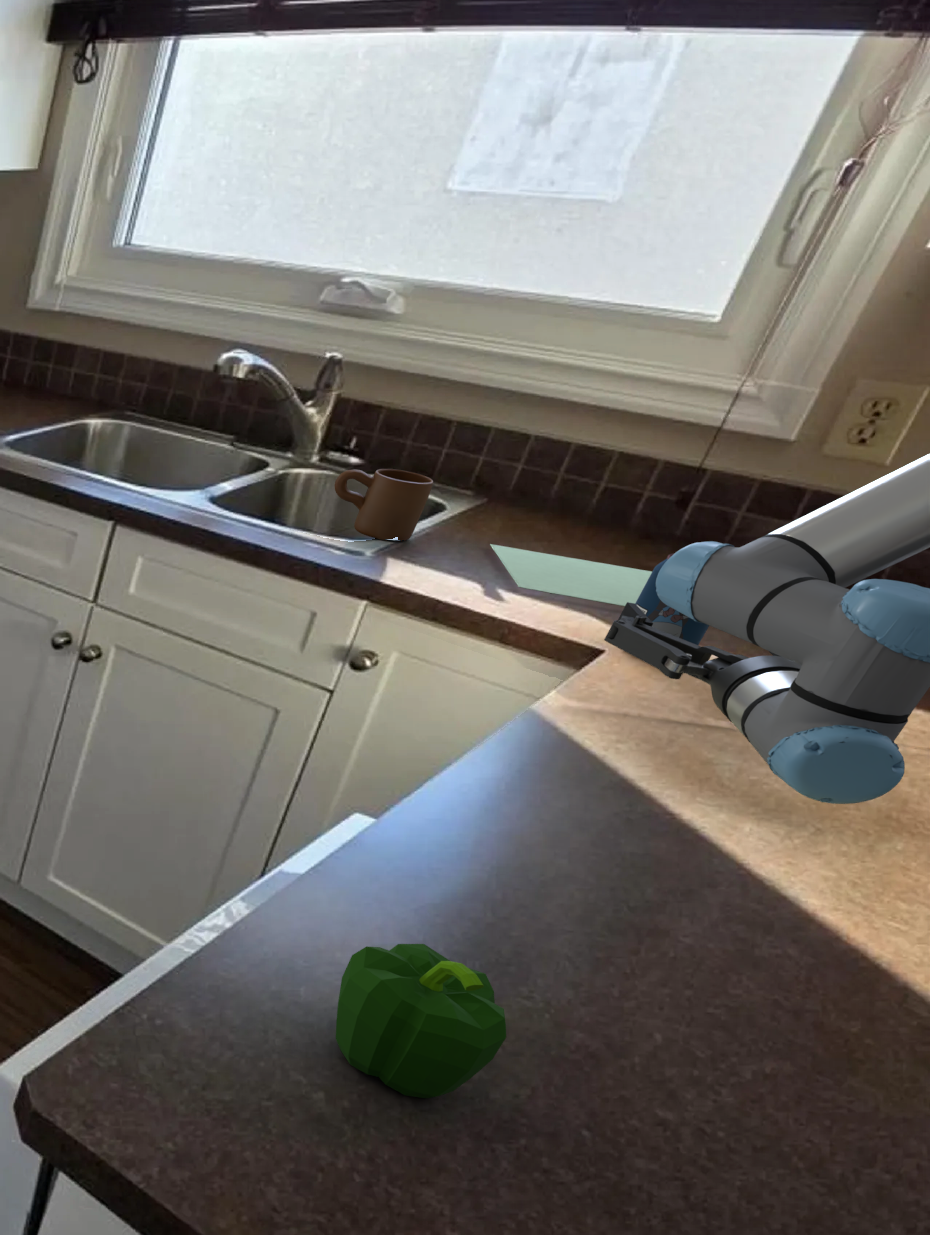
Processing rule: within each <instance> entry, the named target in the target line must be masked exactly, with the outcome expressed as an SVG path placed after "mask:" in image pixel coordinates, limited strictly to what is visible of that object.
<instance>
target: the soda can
mask: <svg viewBox="0 0 930 1235" xmlns="http://www.w3.org/2000/svg"><path fill="white" fill-rule="evenodd" d="M673 554H674V553H669V554H668V555H667V557H666V558H665V559H663V560H662V561H661V562H659V563H658V564H656V565H655V566H654V568H653V570H652V571H651V572H652V573H651V575H650V577H649V579H648V581H647V582H646V584H645V586H644V588H643V590H642V592H641V594H640V596H639V597H638V599H637V601H636V603H635V604H636V605H637V606H638V607H639V608H640V609H641V610H642V611H643V613H644V614H645V615H646V616H647V617H648V618H649V619H650V620H651V621H652V622H653V625H652V627H653V628H656V629H658V630H661V631H663V632H666V633H668V634H671V635H673V636H676V637H678V638H681V639H683V640H686V641H688V642H691V643H693V644H696V645H699V646H700V643H701V641H702V640H703V638H704V637H705V634H706V633H707V631H708V629H709V627H710V626H709V625H707V624H705V623H700V622H696V621H694V620H693V619H691V618H689V617H688V616H686V615H684V614H682V613H680V612H678V611H677V610H675V609H673V608H671V607H669V606H667V605H666V604H664V603H663V602H662V601H661V600H660V598H659V597H658V595H657V592H656V579H657V576H658V573H659V571H660V569H661V568H662V566H663V565H664V564H665V562H666V561H667V560H668V559H669V558H670V557H671V556H672V555H673Z"/></svg>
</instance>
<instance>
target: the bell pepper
mask: <svg viewBox="0 0 930 1235" xmlns="http://www.w3.org/2000/svg"><path fill="white" fill-rule="evenodd" d="M340 982H341V983H340V988H339V993H338V1000H337V1009H336V1010H337V1011H336V1021H335V1024H336V1025H335V1041H336V1044H337V1045H338V1048H339V1050H340V1052H341V1053H342V1054H343V1056H344V1058H345V1059H346V1061H347V1062H348V1064H349V1065H350V1066H352V1067H354V1068H355V1069H357V1070H358V1071H360V1072H362V1073H364V1074H365V1075H368V1076H372V1077H376V1078H379V1079H380V1080H381V1082H382V1083H383V1084H385V1086H387V1087H389V1088H391V1089H392V1090H395V1091H397V1092H398V1093H400V1094H401V1095H404V1096H407V1097H413V1098H421V1099H431V1098H436V1097H437V1098H438V1097H441V1096H443V1095H446V1094H449V1093H452V1092H454V1091H456V1090H457V1089H459V1087H461V1086H463V1085H464V1084H465V1083H467V1082H468V1081H469V1080H470V1079H472V1078H473V1077H474V1076H476V1075H477V1074H478V1073H479V1072H480V1071H481V1070H483V1068H485V1067H486V1066H488V1064H489V1063H490V1062H492V1061H493V1059H494V1058H495V1056H496V1055H497V1053H498V1051H499V1050H500V1048H501V1047H502V1045H503V1043H504V1042H505V1040H506V1038H507V1023H506V1015H505V1014H506V1013H505V1008H503V1007H502V1006H500V1005H498V1004H496V1003H495V1000H496V999H495V990H494V988H493V987H492V984H491V982H490V979H489V978H488V975H487V973H485V972H482V971H479V970H476V969H473V968H471V967H467V966H466V965H465V964H464V963H462V962H457V961H451V960H450V959H448V958H447V957H445V956H444V955H442V954H441V953H439V952H438V951H436V950H434V949H433V948H431V947H430V946H428V945H426V944H425V943H397V944H396V945H395V946H394V947H392V948H391V949H389V950H388V949H386V948H383V947H381V946H380V947H379V946H364V947H363V948H361V949H360V950H358V951H356V952H355V953H353V954H352V955H351V957H350V959H349V961H348V963H347V966H346V968H345V970H344V972H343V974H342V977H341V981H340Z"/></svg>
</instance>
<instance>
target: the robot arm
mask: <svg viewBox="0 0 930 1235" xmlns="http://www.w3.org/2000/svg"><path fill="white" fill-rule="evenodd" d="M929 548H930V453H928V454H926V455H924V456H922V457H920V458H917V459H915V460H914V461H912V462H910V463H908V464H906V465H904V466H902V467H900V468H898V469H896V470H894V471H892V472H890V473H888V474H885V475H884V476H881V477H880V478H878V479H876V480H873V481H871V482H870V483H868V484H866V485H863V486H862V487H861V486H860V488H857V489H856V490H853V491H852V492H850V493H848V494H845V495H843V496H842V497H839V498H837V499H836V500H833V501H832V502H829V503H826V505H823V506H821V507H819V508H817V509H815V510H813V511H810V512H809V513H807V514H806V515H803V516H801V517H799V518H796V519H795V520H793V521H791V522H789V523H787V524H784V525H783V526H781V527H779V528H777V529H775V530H773V531H771V532H769V533H767V534H765V535H763V536H761V537H759V538H756V539H754V540H752V541H751V542H749V543H746V544H745V545H742V546H740V547H735V545H733V544H730V543H722V542H718V541H715V540H714V541H713V540H709V541H701V542H694V543H691V544H688V545H686V546H684V547H682V548H680V549H679V550H677V551H675V553H672V554H673V555H672V556H671V557H670V558H669V559H668V560H667V561H666V562H665V564H664V565H663V566H662V568H661V569H660V571H659V573H658V576H657V579H656V592H657V595H658V597H659V598H660V600H661V601H662V602H663V603H664V604H666V605H667V606H669V607H671V608H673V609H675V610H677V611H678V612H680V613H682V614H684V615H686V616H688V617H689V618H691V619H693V620H694V621H696V622H700V623H705V624H707V625H709V627H711V628H714V629H717V630H719V631H722V632H724V633H727V634H729V635H732V636H734V637H736V638H737V639H741V640H743V641H745V642H748V643H750V644H752V645H755V646H757V647H759V648H761V649H763V650H766V651H768V652H769V653H770V654H771V655H758V656H752V657H748V656H746V655H743V654H741V653H739V654H738V653H737V654H734V653H732V652H729V651H727V650H724V649H721V648H718V647H716V646H714V645H704V646H703V645H702V646H701V645H700V644H699V645H696V644H693V643H691V642H688V641H686V640H683V639H681V638H678V637H676V636H673V635H671V634H668V633H666V632H663V631H661V630H658V629H656V628H653V627H652V625H653V622H652V621H651V620H650V619H649V618H648V617H647V616H646V615H645V614H644V613H643V611H642V610H641V609H640V608H639V607H638V606H637V605H636V604H635V603H629V602H627V603H626V605H625V606H623V609H622V611H621V613H620V615H619V617H618V618H617V619H615V620H614V621H613V622H612V624H611V626H610V628H609V630H608V632H607V634H606V635H605V637H604V638H603V639H604V641H605V642H606V643H608V644H610V645H612V646H614V647H616V648H617V649H619V650H621V651H623V652H625V653H627V654H629V655H631V656H633V657H634V658H637V659H639V660H640V661H642V662H644V663H646V664H647V665H650V666H652V667H653V668H655V669H657V670H659V672H661V673H662V674H663V675H664V676H665V677H667V678H669V679H672V680H680V679H681V678H682V676H683V674H686V675H688V676H690V677H693V678H695V679H697V680H699V681H701V682H704V683H706V684H708V685H709V686H710V691H711V692H710V693H711V697H712V700H713V702H714V704H715V706H716V707H717V708H718V709H719V710H720V711H721V713H722V714H723V715H724V716H725V717H726V719H727V720H729V721H730V723H732V724H733V725H734V727H735V728H736V729H737V730H738V731H739V732H740V733H741V734H742V736H744V737H745V738H746V740H747V741H748V743H750V745H751V746H752V747H753V748H754V749H755V751H756V752H757V753H758V755H760V757H761V758H762V760H764V762H765V763H766V764H767V766H768V767H769V769H770V771H771V772H772V773H773V774H774V775H775V776H776V777H778V778H779V779H780V780H781V781H783V782H784V783H785V784H786V785H788V787H790V788H791V789H792V790H794V791H796V792H797V793H798V794H800V795H802V796H804V797H806V798H808V799H811V800H814V801H817V802H820V803H826V804H833V805H851V804H859V803H864V802H868V801H872V800H875V799H877V798H880V797H882V796H885V795H886V794H887V793H889V792H890V791H892V790H893V789H894V788H895V787H896V786H897V785H899V783H900V782H901V781H902V779H903V777H904V774H905V769H906V768H905V765H906V764H905V759H904V755H903V754H902V752H901V751H900V750H899V749H900V747H899V746H898V744H897V743H895V741H896V739H897V738H898V736H899V735H900V733H901V732H902V730H903V729H904V728H905V726H906V725H907V724H908V722H909V717H910V716H911V714H912V713H913V711H914V710H915V708H916V707H917V706H918V704H919V703H920V702H921V700H922V698H923V697H924V696H925V694H926V693H927V691H928V690H929V689H930V587H924V586H921V585H919V584H915V583H912V582H911V583H910V582H906V581H900V580H894V579H886V578H883V579H882V578H871V579H866V578H869V577H871V576H873V575H875V574H877V573H879V572H881V571H883V570H885V569H887V568H890V567H892V566H894V565H896V564H898V563H900V562H902V561H904V560H906V559H909V558H910V557H912V556H915V555H917V554H919V553H922V552H923V551H925V550H927V549H929ZM853 584H854V585H853ZM850 586H852V587H851V588H850V589H849V588H847V587H850ZM712 656H714V657H715V658H712ZM710 658H712V659H710Z"/></svg>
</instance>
